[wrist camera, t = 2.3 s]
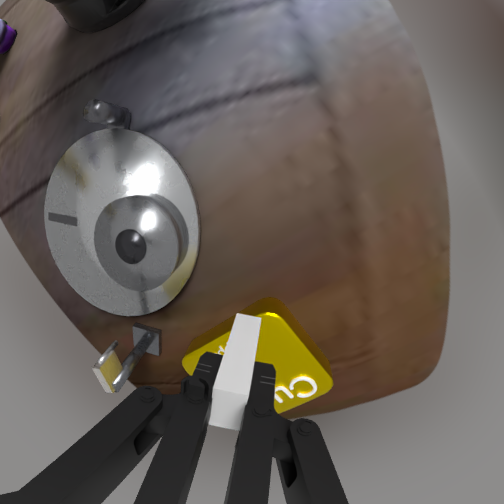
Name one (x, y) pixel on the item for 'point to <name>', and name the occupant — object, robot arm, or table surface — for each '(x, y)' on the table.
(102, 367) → the stand
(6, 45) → the potion bottle
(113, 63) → the table surface
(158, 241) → the cover
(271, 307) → the element tile
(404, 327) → the table surface
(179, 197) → the turntable
